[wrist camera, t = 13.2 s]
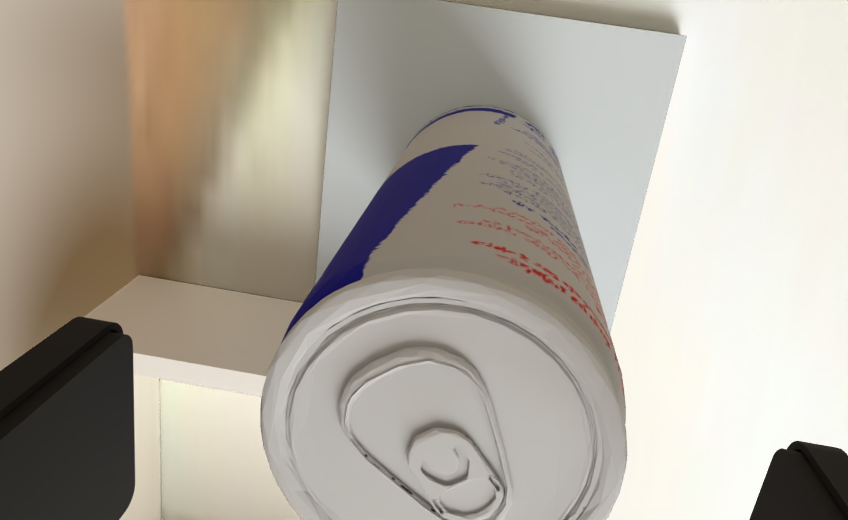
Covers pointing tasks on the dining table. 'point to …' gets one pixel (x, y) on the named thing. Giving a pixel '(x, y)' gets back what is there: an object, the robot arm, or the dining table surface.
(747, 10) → the dining table surface
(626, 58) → the mat
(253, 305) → the case
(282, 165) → the dining table surface
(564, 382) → the beverage can
